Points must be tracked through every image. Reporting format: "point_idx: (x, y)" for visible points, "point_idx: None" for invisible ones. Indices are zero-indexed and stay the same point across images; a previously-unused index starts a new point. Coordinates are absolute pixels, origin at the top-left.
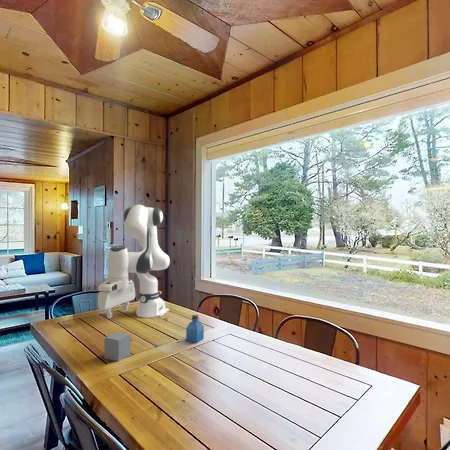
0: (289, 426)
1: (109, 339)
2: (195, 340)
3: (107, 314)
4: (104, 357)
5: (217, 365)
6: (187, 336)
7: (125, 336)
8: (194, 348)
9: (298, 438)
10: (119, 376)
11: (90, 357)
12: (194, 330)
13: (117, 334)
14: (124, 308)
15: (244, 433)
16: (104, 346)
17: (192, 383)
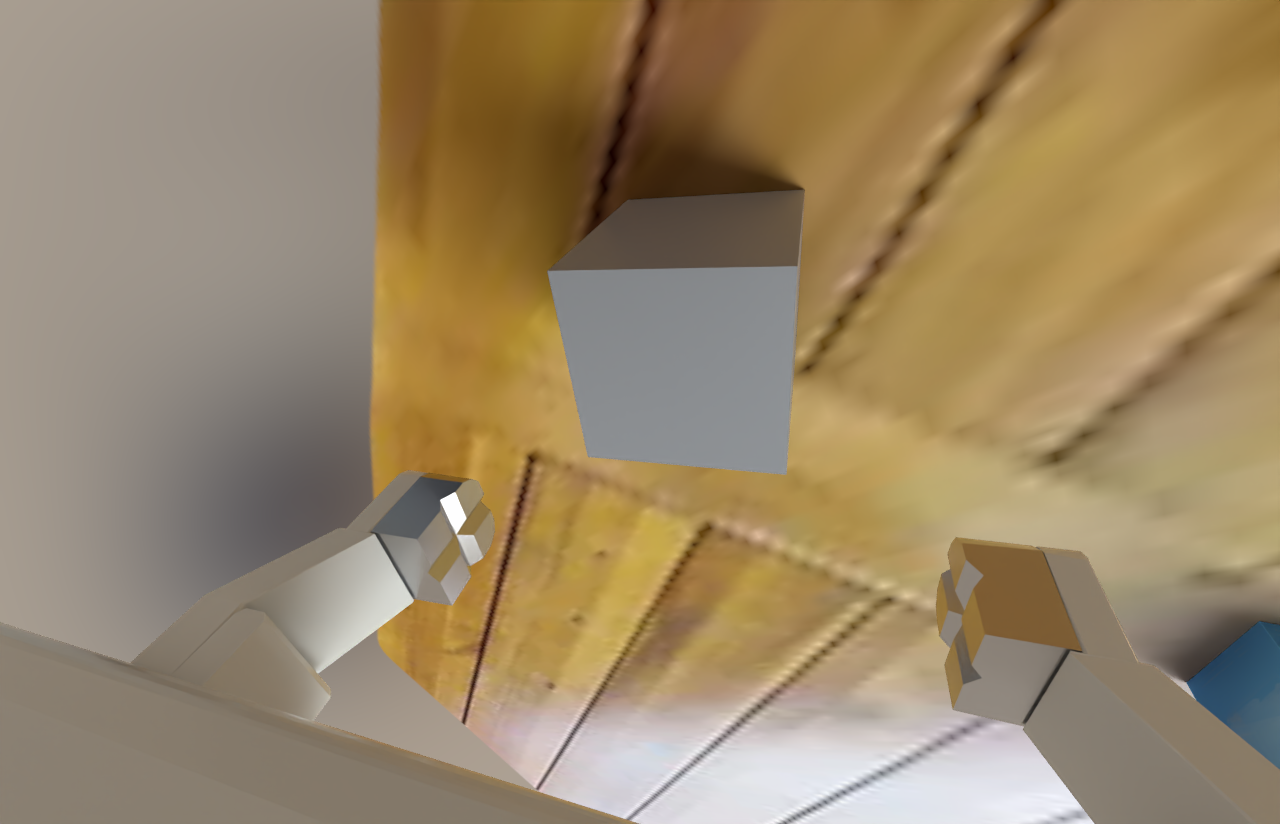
0: None
1: (568, 340)
2: (1205, 695)
3: (360, 521)
4: (624, 204)
5: (834, 753)
6: (1278, 669)
7: (700, 461)
8: None
9: None
10: (520, 463)
11: (570, 37)
12: None
13: (709, 346)
14: (959, 680)
15: (536, 768)
16: (587, 235)
17: (649, 696)
